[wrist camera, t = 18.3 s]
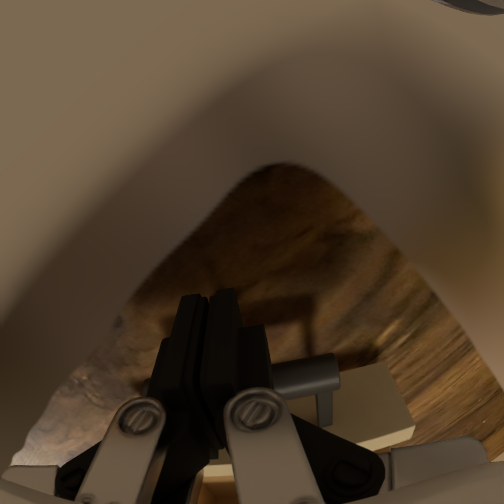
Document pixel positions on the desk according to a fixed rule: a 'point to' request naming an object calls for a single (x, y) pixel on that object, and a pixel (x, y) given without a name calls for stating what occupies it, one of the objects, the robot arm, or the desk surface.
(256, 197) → the desk surface
